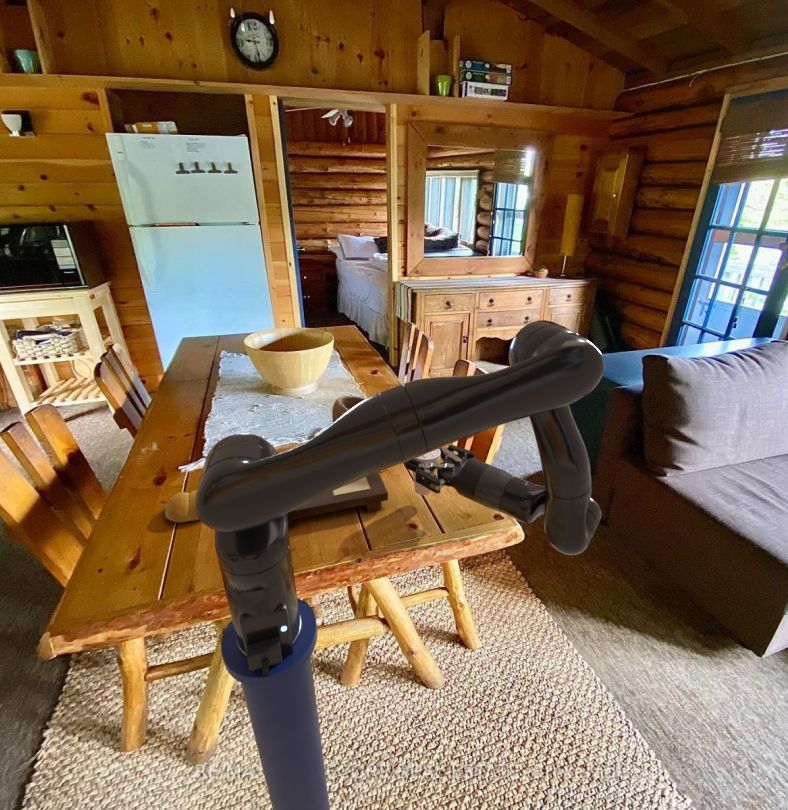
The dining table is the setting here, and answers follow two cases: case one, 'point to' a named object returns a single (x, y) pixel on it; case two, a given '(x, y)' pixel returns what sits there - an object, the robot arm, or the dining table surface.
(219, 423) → the dining table surface
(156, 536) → the dining table surface
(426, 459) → the smoothie
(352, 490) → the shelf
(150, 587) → the dining table surface
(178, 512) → the bread roll
